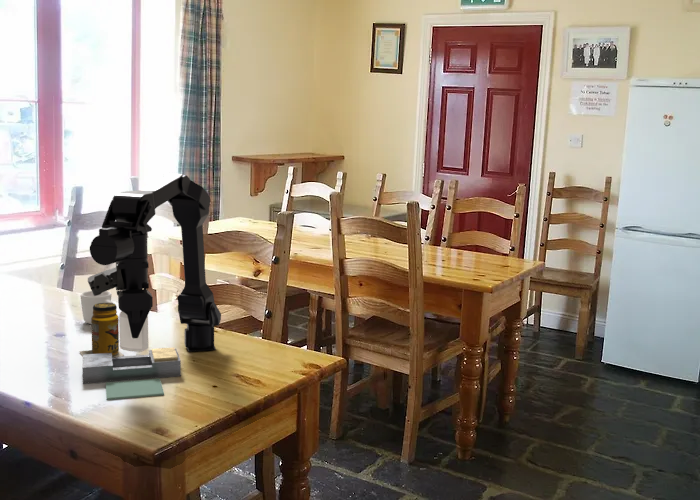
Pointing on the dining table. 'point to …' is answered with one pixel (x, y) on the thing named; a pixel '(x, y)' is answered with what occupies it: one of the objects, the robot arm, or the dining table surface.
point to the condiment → (104, 330)
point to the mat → (134, 389)
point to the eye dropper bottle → (126, 337)
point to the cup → (92, 303)
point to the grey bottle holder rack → (131, 366)
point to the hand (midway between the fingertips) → (133, 332)
